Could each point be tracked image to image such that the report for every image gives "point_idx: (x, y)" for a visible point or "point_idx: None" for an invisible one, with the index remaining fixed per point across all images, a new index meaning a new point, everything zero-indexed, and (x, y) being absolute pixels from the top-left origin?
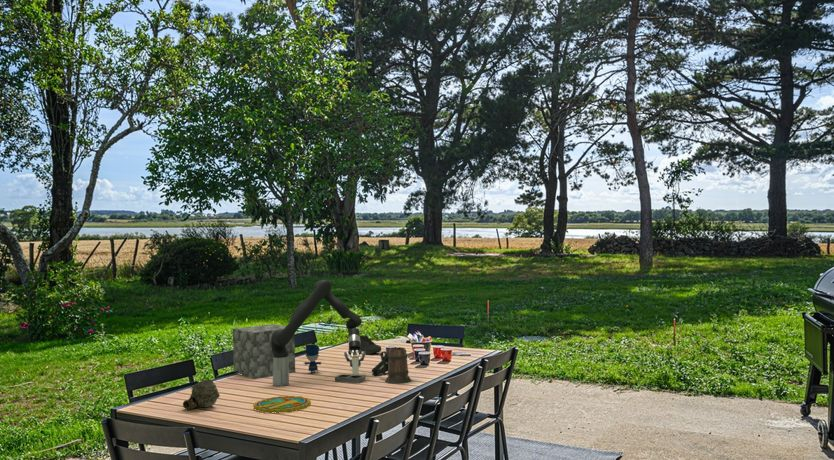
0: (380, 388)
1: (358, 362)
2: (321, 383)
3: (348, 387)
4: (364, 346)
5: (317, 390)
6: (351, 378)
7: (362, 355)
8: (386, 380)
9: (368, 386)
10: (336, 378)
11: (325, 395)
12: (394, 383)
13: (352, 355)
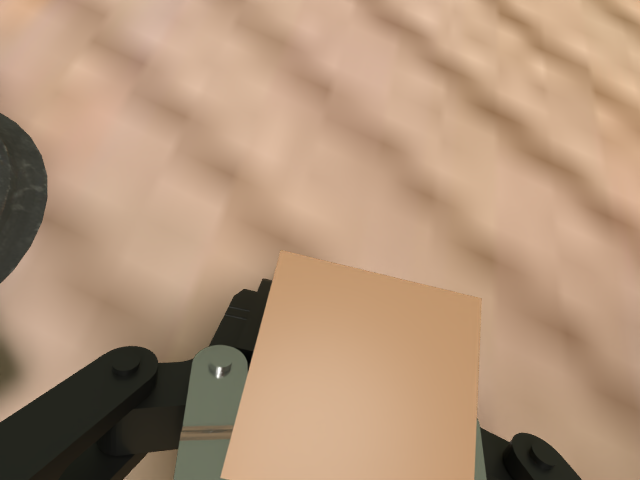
0: (187, 44)
1: None
2: (630, 437)
3: (403, 173)
4: None
5: (623, 187)
6: None
7: (55, 449)
8: (18, 207)
9: (248, 134)
10: None
11: (558, 49)
12: (4, 119)
13: (449, 454)
